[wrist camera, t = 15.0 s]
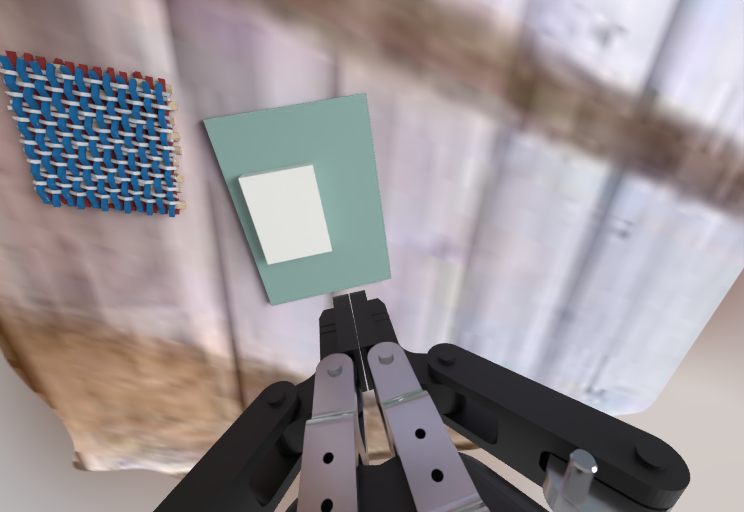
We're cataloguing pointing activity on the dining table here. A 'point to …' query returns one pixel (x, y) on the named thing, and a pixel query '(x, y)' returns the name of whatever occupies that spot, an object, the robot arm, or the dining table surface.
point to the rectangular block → (287, 212)
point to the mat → (335, 184)
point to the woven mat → (95, 135)
